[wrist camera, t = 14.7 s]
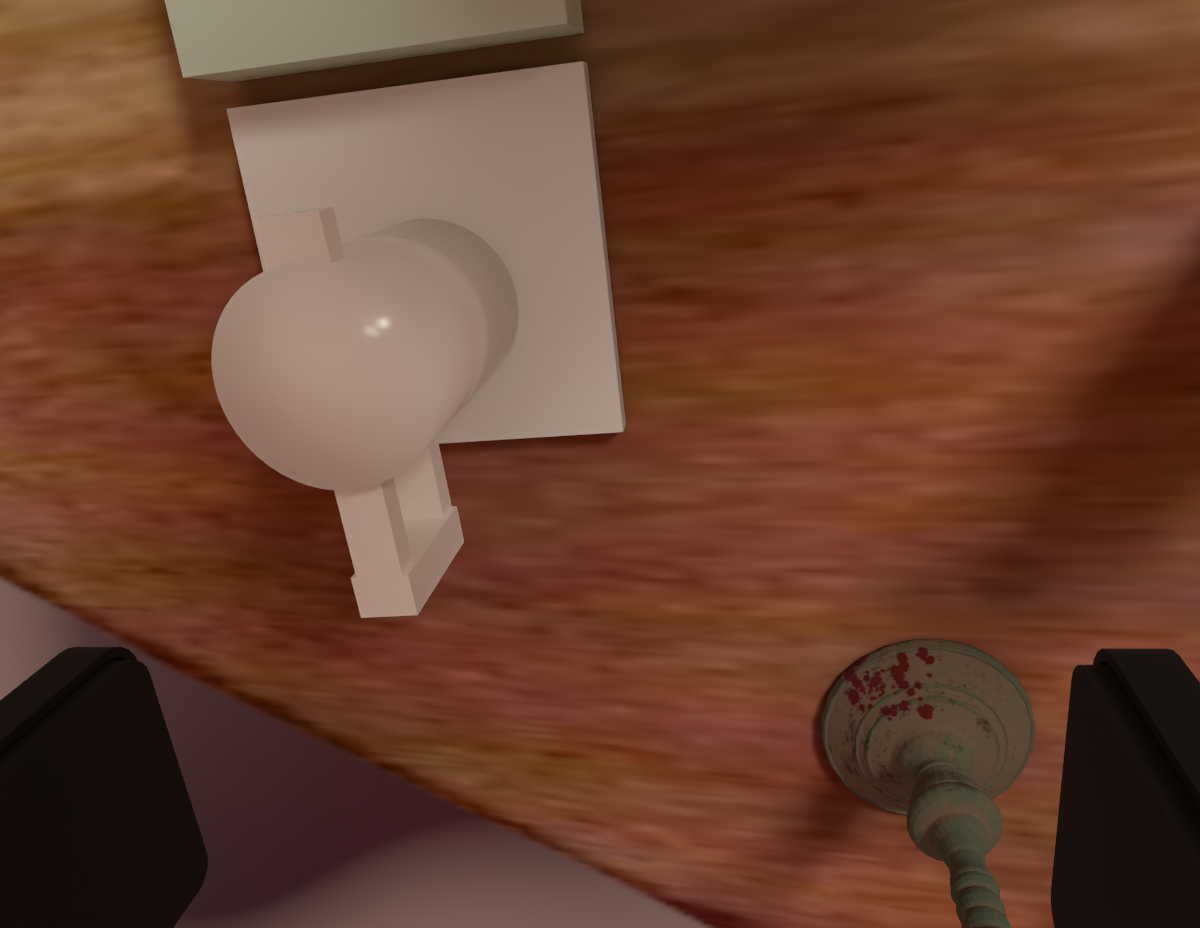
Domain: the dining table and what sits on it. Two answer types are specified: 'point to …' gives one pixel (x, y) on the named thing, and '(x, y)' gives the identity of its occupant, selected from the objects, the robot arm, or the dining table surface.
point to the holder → (349, 32)
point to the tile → (471, 217)
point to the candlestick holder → (935, 753)
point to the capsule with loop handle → (366, 379)
